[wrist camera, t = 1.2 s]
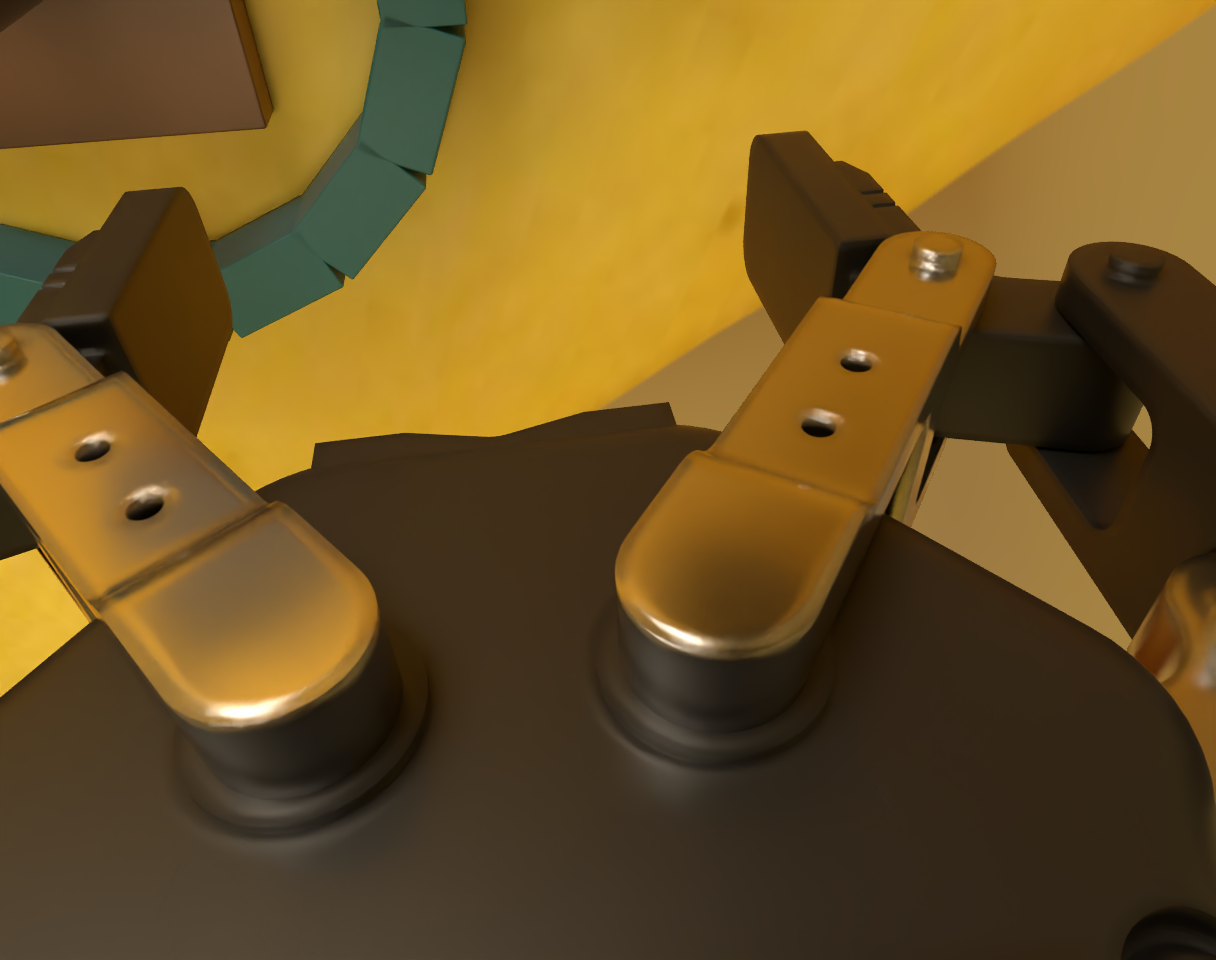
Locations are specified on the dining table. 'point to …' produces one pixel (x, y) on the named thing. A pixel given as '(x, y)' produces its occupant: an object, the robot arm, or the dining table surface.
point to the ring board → (126, 70)
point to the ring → (318, 183)
